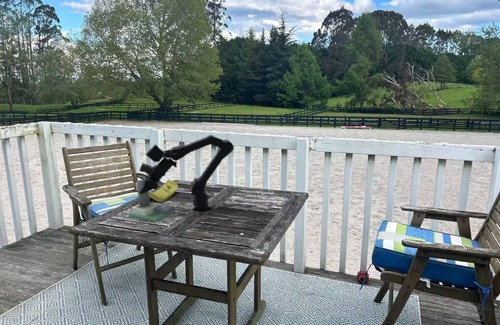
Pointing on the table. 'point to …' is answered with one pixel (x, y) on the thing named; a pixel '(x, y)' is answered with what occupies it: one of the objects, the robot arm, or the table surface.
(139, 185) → the plug
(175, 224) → the table surface
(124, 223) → the table surface
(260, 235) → the table surface
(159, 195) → the plastic component
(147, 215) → the header board
